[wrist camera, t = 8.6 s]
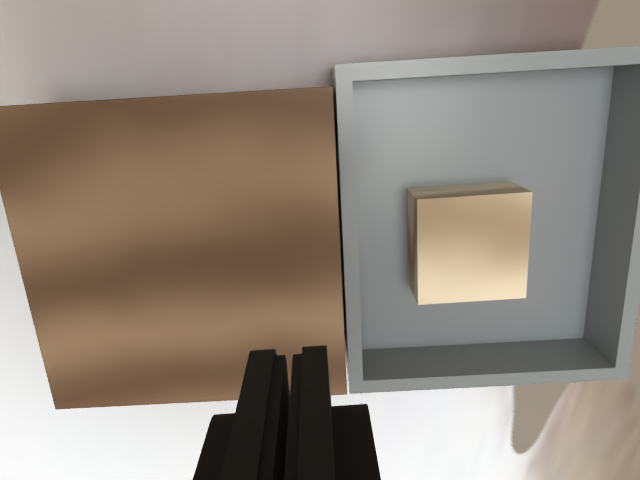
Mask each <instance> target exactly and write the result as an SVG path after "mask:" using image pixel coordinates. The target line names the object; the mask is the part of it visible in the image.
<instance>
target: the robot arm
mask: <svg viewBox="0 0 640 480" xmlns="http://www.w3.org/2000/svg"><path fill="white" fill-rule="evenodd" d="M193 480H381V478H380V472H379V467H378V461H377V455H376V450H375V444H374V438H373V432H372V427H371V421H370V415H369V410H368V405H367V404H360V405H346V406H332V407H331V395H330V382H329V368H328V355H327V345H322V346H308V347H302V354H293V357H292V372H291V386H290V390H289V380H288V371H287V361H286V356H285V355H277V353H276V349H265V350H251V351H250V353H249V357H248V361H247V365H246V369H245V374H244V378H243V382H242V387H241V391H240V395H239V400H238V404H237V408H236V412H235V413H232V414H218V415H214V416H213V417H212V419H211V421H210V424H209V428H208V431H207V434H206V438H205V441H204V444H203V448H202V451H201V454H200V458H199V461H198V464H197V468H196V471H195V474H194V477H193Z"/></svg>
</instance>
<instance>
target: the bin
mask: <svg viewBox="0 0 640 480" xmlns="http://www.w3.org/2000/svg"><path fill="white" fill-rule="evenodd" d="M332 74H333V96H334V117H335V138H336V160H337V181H338V202H339V224H340V245H341V267H342V288H343V309H344V331H345V352H346V362H347V372H348V382H349V391H350V394H352V393H371V392H391V391H410V390H430V389H449V388H469V387H488V386H508V385H526V384H547V383H566V382H586V381H605V380H625V379H628V374H629V366H630V360H631V353H632V347H633V340H634V333H635V326H636V320H637V313H638V306H639V299H640V46H628V47H613V48H596V49H579V50H562V51H545V52H529V53H512V54H496V55H479V56H463V57H446V58H429V59H413V60H396V61H380V62H363V63H346V64H335V65H334V67H333V68H332ZM498 182H513V183H515V184H517V185H519V186H521V187H523V188H525V189H528V190H530V191H532V192H533V195H532V212H531V228H530V244H529V260H528V276H527V292H526V298H520V299H504V300H488V301H472V302H456V303H440V304H424V305H418V304H417V302H416V300H415V297H414V295H413V293H412V291H411V289H410V287H409V285H408V224H407V189H408V188H423V187H438V186H453V185H468V184H483V183H498Z"/></svg>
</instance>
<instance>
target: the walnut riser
mask: <svg viewBox="0 0 640 480" xmlns="http://www.w3.org/2000/svg"><path fill="white" fill-rule="evenodd" d="M0 192H1V196H2V200H3V204H4V207H5V211H6V215H7V219H8V223H9V227H10V231H11V235H12V239H13V243H14V247H15V251H16V255H17V259H18V263H19V267H20V271H21V275H22V279H23V283H24V286H25V290H26V294H27V298H28V302H29V306H30V310H31V314H32V318H33V322H34V326H35V330H36V334H37V338H38V342H39V346H40V350H41V354H42V358H43V361H44V365H45V369H46V373H47V377H48V381H49V385H50V389H51V393H52V397H53V401H54V405H55V409H70V408H90V407H109V406H129V405H149V404H168V403H188V402H207V401H227V400H239V395H240V391H241V387H242V382H243V378H244V374H245V369H246V365H247V361H248V357H249V353H250V351H251V350H265V349H276V353H277V355H285V356H286V361H287V371H288V380H289V390H290V386H291V372H292V357H293V354H302V347H308V346H322V345H327V355H328V368H329V382H330V395H344V394H347V382H346V361H345V340H344V318H343V297H342V276H341V255H340V233H339V212H338V191H337V170H336V148H335V127H334V106H333V86H329V87H312V88H296V89H279V90H262V91H245V92H229V93H212V94H195V95H178V96H162V97H145V98H128V99H112V100H95V101H78V102H61V103H45V104H28V105H11V106H0Z"/></svg>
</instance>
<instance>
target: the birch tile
mask: <svg viewBox="0 0 640 480" xmlns="http://www.w3.org/2000/svg"><path fill="white" fill-rule="evenodd" d="M532 195H533V192H532V191H530V190H528V189H525V188H523V187H521V186H519V185H517V184H515V183H513V182H498V183H483V184H468V185H453V186H438V187H423V188H408V189H407V224H408V285H409V287H410V289H411V291H412V293H413V295H414V297H415V300H416V302H417V304H418V305H424V304H440V303H456V302H472V301H488V300H504V299H520V298H526V292H527V276H528V260H529V244H530V228H531V212H532Z"/></svg>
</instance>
